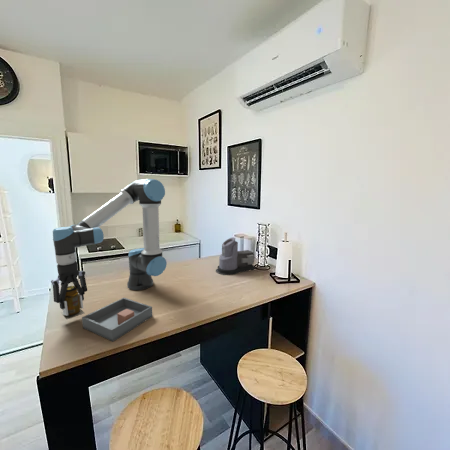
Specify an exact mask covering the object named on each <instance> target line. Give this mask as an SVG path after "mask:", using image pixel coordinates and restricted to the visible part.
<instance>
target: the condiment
mask: <svg viewBox="0 0 450 450" xmlns="http://www.w3.org/2000/svg"><path fill="white" fill-rule="evenodd" d="M76 288H77V287H76V286H74V285H70V286H69V285H68V287H67V290H66V296H65V301H67V308H68V315H67V316H66V315H64V314H63V311H62V312H61V315H62V316H63V317H64V319H65V320H68V319H72V318H76V317H78V316H81V315H84V314H85V311H84V310H83V309H81V308H80V303H79V295H78V294H79V293H78V291H77V289H76Z"/></svg>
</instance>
